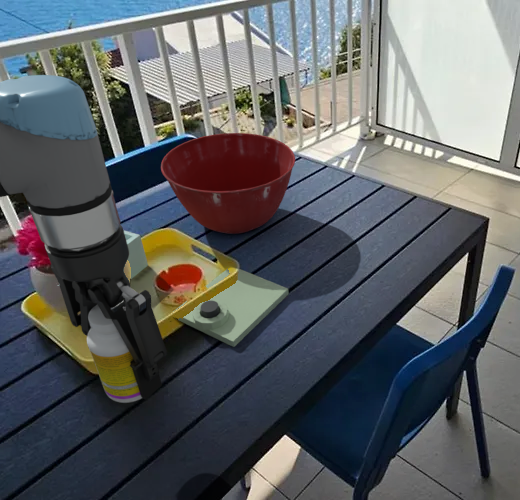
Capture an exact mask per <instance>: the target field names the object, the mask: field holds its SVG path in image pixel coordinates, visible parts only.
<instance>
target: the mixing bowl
mask: <svg viewBox="0 0 520 500" xmlns="http://www.w3.org/2000/svg"><path fill="white" fill-rule="evenodd" d="M295 155H296V154H295V152H294V151H293V150H292V149H291V147H290V146H288V144H285V143H284V142H283V141H280V140H279V139H275V138H273V137H269V136H266V135H262V134H256V133H247V132H225V133H224V132H223V133H214V134H209V135H204V136H200V137H196V138H193V139H190V140H188V141H185V142H183V143H181V144H179V145H177V146H175V147H173V148H172V149H171V150H170V151H168V152H167V153H166V155H164V157H163V158H162V160H161V164H160V170H161V173H162V175H163V176H164V178H165V179H166V181H167V183H168V184H169V186H170V187H171V190H172V192H173V193H174V195H175V196H176V198H177V199H178V201H179V202H180V203H181V205H182V207H183V208H184V209H185V210H186V211H187V213H188V214H189V215H190V216H191V217H192V218H193V219H194V220H195V222H197V223H198V224H200V225H201V226H202V227H204V228H206V229H208V230H210V231H214V232H217V233H222V234H230V235H231V234H232V235H236V234H243V233H247V232H250V231H253V230H255V229H258V228H259V227H262V226H264V225H265V224H266V223H267V222H269V221H270V220H271V219H272V218H273V217H274V215H275V214H276V212H277V211H278V209H279V207H280V206H281V204H282V203H283V200H284V197H285V195H286V192H287V190H288V187H289V183H290V181H291V177H292V172H293V168H294V166H295V164H296V156H295Z"/></svg>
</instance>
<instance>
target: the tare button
mask: <svg viewBox="0 0 520 500" xmlns="http://www.w3.org/2000/svg"><path fill="white" fill-rule="evenodd" d="M201 313H202V316H203V317H204V318H213V317H216V316H217V315H218V314H219V306H218V303H217V302H216V301H206V302H204V303H203V304H202V305H201Z"/></svg>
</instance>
